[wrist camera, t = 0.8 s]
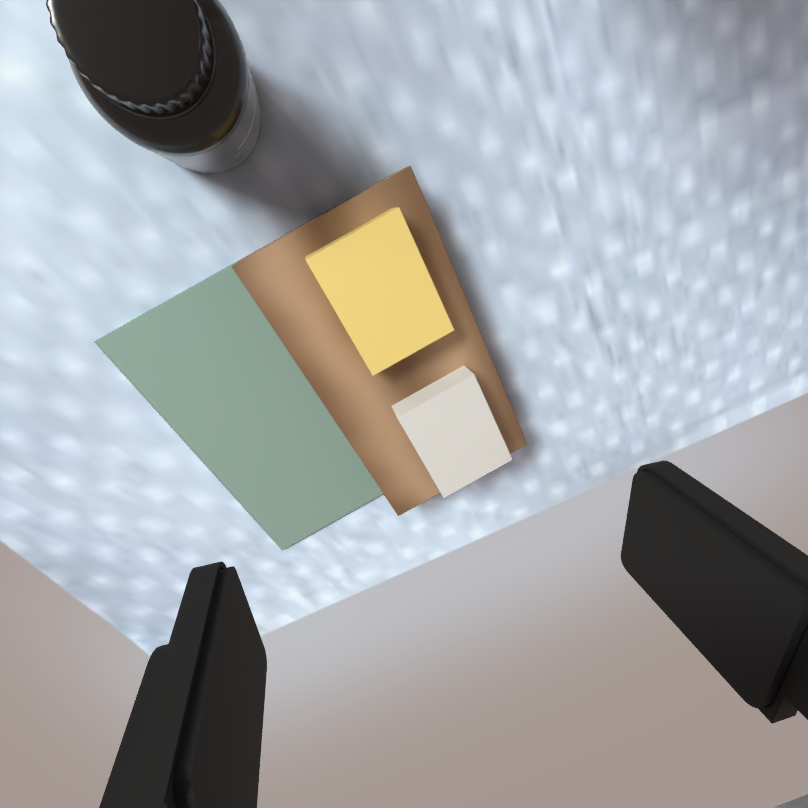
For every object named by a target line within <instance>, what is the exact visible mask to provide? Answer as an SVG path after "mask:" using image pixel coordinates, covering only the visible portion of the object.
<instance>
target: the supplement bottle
mask: <svg viewBox="0 0 808 808" xmlns="http://www.w3.org/2000/svg"><path fill="white" fill-rule="evenodd" d="M46 6H47V8H48V10H49V12H50V23H51V25H52V27H53V28H54V29H55V31H56V34H57V40H58V42H59V43H60V44H61V45H62V47H64V49H65V52H66V55H67V57H68V59H69V62H70V65H71V68H72V71H73V73H74V75H75V77H76V80H77V82H78V84H79V85H80V87H81V89H82V91H83V92H84V94H85V96H86V97H87V99H88V100H89V102H90V103H91V104H92V105H93V107H94V108H95V109H96V111H97V112H98V113H99V114H100V115H101V116H102V117H103V118H104V119H105V120H106V121H107V122H108V123H109V124H110V125H111V126H112V127H113V128H115V129H116V130H117V131H118V132H120V133H121V134H122V135H124V136H125V137H127V138H128V139H130V140H131V141H133V142H134V143H136V144H138V145H140V146H142V147H144V148H146V149H148V150H150V151H152V152H154V153H156V154H158V155H160V156H162V157H164V158H166V159H168V160H170V161H172V162H174V163H176V164H178V165H180V166H182V167H185V168H187V169H190V170H193V171H197V172H203V173H218V172H223V171H227V170H230V169H232V168H234V167H236V166H237V165H239V164H240V163H241V162H243V161H244V160H245V159H246V158H247V157H248V155H249V154H250V153H251V151H252V150H253V148H254V146H255V144H256V141H257V139H258V135H259V131H260V122H261V113H260V104H259V99H258V95H257V91H256V88H255V85H254V81H253V78H252V75H251V72H250V68H249V65H248V62H247V59H246V55H245V52H244V49H243V46H242V43H241V40H240V38H239V35H238V33H237V31H236V29H235V26H234V24H233V22H232V20H231V19H230V17H229V15H228V13H227V12H226V10H225V9H224V7H223V6H222V4H221V3H220V1H219V0H47V2H46Z"/></svg>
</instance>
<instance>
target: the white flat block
mask: <svg viewBox="0 0 808 808" xmlns="http://www.w3.org/2000/svg"><path fill="white" fill-rule="evenodd" d="M392 408H393V410H394V412H395V415H396V417H397V419H398V420H399V422H400V424H401V425H402V427H403V429H404V431H405V432H406V434H407V436H408V437H409V439H410V441H411V443H412V444H413V446H414V448H415V449H416V451H417V453H418V455H419V456H420V458H421V460H422V462H423V463H424V465H425V467H426V468H427V470H428V472H429V474H430V475H431V477H432V479H433V480H434V482H435V484H436V486H437V487H438V489H439V491H440V493H441V494H442V496H443V498H445V497H447V496H448V495H450V494H452V493H454V492H456V491H457V490H459V489H461V488H463V487H464V486H466V485H468V484H470V483H472V482H473V481H475V480H477V479H479V478H481V477H482V476H484V475H486V474H488V473H490V472H491V471H493V470H495V469H497V468H498V467H500V466H502V465H504V464H506V463H507V462H509V461H511V460H512V457H511V455H510V453H509V451H508V448H507V446H506V444H505V442H504V440H503V437H502V435H501V433H500V431H499V428H498V426H497V424H496V422H495V419H494V417H493V415H492V413H491V411H490V408H489V406H488V404H487V402H486V399H485V397H484V395H483V393H482V391H481V388H480V386H479V384H478V382H477V379H476V377H475V375H474V374H473V373H472V372H471V371H470V370H469V369H468V368H467V367H465V366H462V367H460V368H458V369H457V370H455V371H453V372H451V373H449V374H448V375H446V376H444V377H442V378H441V379H439V380H437V381H435V382H433V383H432V384H430V385H428V386H426V387H424V388H423V389H421V390H419V391H417V392H416V393H414V394H412V395H410V396H408V397H407V398H405V399H403V400H401V401H400V402H398V403H396V404H394V405H392Z"/></svg>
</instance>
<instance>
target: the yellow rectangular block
mask: <svg viewBox="0 0 808 808" xmlns="http://www.w3.org/2000/svg"><path fill="white" fill-rule="evenodd" d="M305 260H306V262H307V264H308V265H309V267H310V269H311V271H312V272H313V274H314V276H315V277H316V279H317V281H318V283H319V284H320V286H321V288H322V289H323V291H324V293H325V295H326V296H327V298H328V300H329V302H330V303H331V305H332V307H333V308H334V310H335V312H336V314H337V315H338V317H339V319H340V320H341V322H342V324H343V326H344V327H345V329H346V331H347V332H348V334H349V336H350V338H351V339H352V341H353V343H354V345H355V346H356V348H357V350H358V351H359V353H360V355H361V357H362V358H363V360H364V362H365V363H366V365H367V367H368V369H369V370H370V372H371V374H372V376H374V375H375V374H377V373H379V372H381V371H383V370H384V369H386V368H388V367H390V366H391V365H393V364H395V363H397V362H399V361H400V360H402V359H404V358H406V357H408V356H409V355H411V354H413V353H415V352H416V351H418V350H420V349H422V348H424V347H425V346H427V345H429V344H431V343H433V342H434V341H436V340H438V339H440V338H441V337H443V336H445V335H447V334H449V333H450V332H452V331H454V328H453V326H452V324H451V322H450V319H449V317H448V315H447V313H446V310H445V308H444V306H443V304H442V301H441V299H440V297H439V295H438V293H437V290H436V288H435V286H434V284H433V281H432V279H431V277H430V275H429V273H428V270H427V268H426V266H425V264H424V261H423V259H422V257H421V255H420V253H419V250H418V248H417V246H416V244H415V241H414V239H413V237H412V235H411V232H410V230H409V228H408V226H407V224H406V221H405V219H404V217H403V215H402V212H401V210H400V208H399V207H397V208H391V209H389V210H388V211H386V212H384V213H382V214H381V215H379V216H377V217H375V218H373V219H372V220H370V221H368V222H366V223H364V224H363V225H361V226H359V227H357V228H356V229H354V230H352V231H350V232H348V233H347V234H345V235H343V236H341V237H340V238H338V239H336V240H334V241H332V242H331V243H329V244H327V245H325V246H323V247H322V248H320V249H318V250H316V251H315V252H313V253H311V254H309V255H307V256H306V257H305Z"/></svg>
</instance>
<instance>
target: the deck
mask: <svg viewBox="0 0 808 808" xmlns="http://www.w3.org/2000/svg"><path fill="white" fill-rule="evenodd" d="M397 207H399V208H400V210H401V212H402V215H403V217H404V219H405V221H406V224H407V226H408V228H409V230H410V232H411V235H412V237H413V239H414V241H415V244H416V246H417V248H418V250H419V253H420V255H421V257H422V259H423V261H424V264H425V266H426V268H427V270H428V273H429V275H430V277H431V279H432V281H433V284H434V286H435V288H436V290H437V293H438V295H439V297H440V299H441V301H442V304H443V306H444V308H445V310H446V313H447V315H448V317H449V319H450V322H451V324H452V326H453V328H454V331H452V332H450V333H449V334H447V335H445V336H443V337H441V338H440V339H438V340H436V341H434V342H433V343H431V344H429V345H427V346H425V347H424V348H422V349H420V350H418V351H416V352H415V353H413V354H411V355H409V356H408V357H406V358H404V359H402V360H400V361H399V362H397V363H395V364H393V365H391V366H390V367H388V368H386V369H384V370H383V371H381V372H379V373H377V374H375V375H374V376H372V374H371V372H370V370H369V369H368V367H367V365H366V363H365V362H364V360H363V358H362V357H361V355H360V353H359V351H358V350H357V348H356V346H355V345H354V343H353V341H352V339H351V338H350V336H349V334H348V332H347V331H346V329H345V327H344V326H343V324H342V322H341V320H340V319H339V317H338V315H337V314H336V312H335V310H334V308H333V307H332V305H331V303H330V302H329V300H328V298H327V296H326V295H325V293H324V291H323V289H322V288H321V286H320V284H319V283H318V281H317V279H316V277H315V276H314V274H313V272H312V271H311V269H310V267H309V265H308V264H307V262H306V260H305V257H306V256H307V255H309V254H311V253H313V252H315V251H316V250H318V249H320V248H322V247H323V246H325V245H327V244H329V243H331V242H332V241H334V240H336V239H338V238H340V237H341V236H343V235H345V234H347V233H348V232H350V231H352V230H354V229H356V228H357V227H359V226H361V225H363V224H364V223H366V222H368V221H370V220H372V219H373V218H375V217H377V216H379V215H381V214H382V213H384V212H386V211H388V210H389V209H391V208H397ZM231 267H232V268H233V270H234V271H235V273H236V274H237V276H238V277H239V279H240V280H241V282H242V283H243V285H244V286H245V288H246V289H247V291H248V292H249V294H250V295H251V297H252V298H253V300H254V301H255V303H256V304H257V306H258V307H259V309H260V310H261V312H262V313H263V315H264V316H265V318H266V319H267V321H268V322H269V324H270V325H271V327H272V328H273V330H274V331H275V332H276V334H277V335H278V337H279V338H280V340H281V341H282V343H283V344H284V346H285V347H286V349H287V350H288V352H289V353H290V355H291V356H292V358H293V359H294V361H295V362H296V364H297V365H298V367H299V368H300V370H301V371H302V373H303V374H304V376H305V377H306V379H307V380H308V382H309V383H310V385H311V386H312V388H313V389H314V391H315V392H316V394H317V395H318V397H319V398H320V400H321V401H322V403H323V404H324V406H325V407H326V409H327V410H328V412H329V413H330V415H331V416H332V418H333V419H334V421H335V422H336V424H337V425H338V427H339V428H340V430H341V431H342V433H343V434H344V436H345V437H346V439H347V440H348V442H349V443H350V445H351V446H352V448H353V449H354V451H355V452H356V454H357V455H358V457H359V458H360V459H361V461H362V462H363V464H364V465H365V467H366V468H367V470H368V471H369V473H370V474H371V476H372V477H373V479H374V480H375V482H376V483H377V485H378V486H379V488H380V489H381V491H382V492H383V494H384V495H385V497H386V498H387V500H388V501H389V503H390V504H391V506H392V507H393V509H394V510H395V512H396V513H397V515H398V516H399V515H401V514H403V513H405V512H406V511H408V510H410V509H412V508H414V507H415V506H417V505H419V504H421V503H423V502H424V501H426V500H428V499H430V498H431V497H433V496H435V495H437V494H439V493H440V491H439V489H438V487H437V486H436V484H435V482H434V480H433V479H432V477H431V475H430V474H429V472H428V470H427V468H426V467H425V465H424V463H423V462H422V460H421V458H420V456H419V455H418V453H417V451H416V449H415V448H414V446H413V444H412V443H411V441H410V439H409V437H408V436H407V434H406V432H405V431H404V429H403V427H402V425H401V424H400V422H399V420H398V419H397V417H396V415H395V412H394V410H393V408H392V405H394V404H396V403H398V402H400V401H401V400H403V399H405V398H407V397H408V396H410V395H412V394H414V393H416V392H417V391H419V390H421V389H423V388H424V387H426V386H428V385H430V384H432V383H433V382H435V381H437V380H439V379H441V378H442V377H444V376H446V375H448V374H449V373H451V372H453V371H455V370H457V369H458V368H460V367H462V366H465V367H467V368H468V369H469V370H470V371H471V372H472V373H473V374H474V375H475V377H476V379H477V382H478V384H479V386H480V388H481V391H482V393H483V395H484V397H485V399H486V402H487V404H488V406H489V408H490V411H491V413H492V415H493V417H494V419H495V422H496V424H497V426H498V428H499V431H500V433H501V435H502V437H503V440H504V442H505V444H506V446H507V448H508V451H509V453H512V452H514V451H515V450H517V449H519V448H521V447H523V446H524V445H526V444H527V443H526V440H525V438H524V436H523V433H522V431H521V428H520V426H519V424H518V421H517V419H516V416H515V414H514V412H513V409H512V407H511V404H510V402H509V400H508V397H507V395H506V393H505V390H504V388H503V385H502V383H501V381H500V378H499V376H498V373H497V371H496V369H495V366H494V364H493V361H492V359H491V357H490V354H489V352H488V350H487V347H486V345H485V342H484V340H483V338H482V335H481V333H480V330H479V328H478V326H477V323H476V321H475V318H474V316H473V314H472V311H471V309H470V307H469V304H468V302H467V299H466V297H465V295H464V292H463V290H462V287H461V285H460V283H459V280H458V278H457V275H456V273H455V271H454V268H453V266H452V264H451V261H450V259H449V256H448V254H447V252H446V249H445V247H444V244H443V242H442V240H441V237H440V235H439V232H438V230H437V228H436V225H435V223H434V221H433V218H432V216H431V213H430V211H429V209H428V206H427V204H426V201H425V199H424V197H423V194H422V192H421V189H420V187H419V185H418V182H417V180H416V178H415V175H414V173H413V170H412V168H411V166H409V167H407V168H405V169H402V170H400V171H398V172H396V173H394V174H392V175H391V176H389V177H387V178H385V179H384V180H382V181H380V182H378V183H376V184H375V185H373V186H371V187H369V188H367V189H366V190H364V191H362V192H360V193H359V194H357V195H355V196H353V197H351V198H350V199H348V200H346V201H344V202H343V203H341V204H339V205H337V206H335V207H334V208H332V209H330V210H328V211H326V212H325V213H323V214H321V215H319V216H318V217H316V218H314V219H312V220H310V221H309V222H307V223H305V224H303V225H302V226H300V227H298V228H296V229H294V230H293V231H291V232H289V233H287V234H285V235H284V236H282V237H280V238H278V239H277V240H275V241H273V242H271V243H269V244H268V245H266V246H264V247H262V248H261V249H259V250H257V251H255V252H253V253H252V254H250V255H248V256H246V257H245V258H243V259H241V260H239V261H238V262H237V263H235V264H234V265H233V266H231Z"/></svg>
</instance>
